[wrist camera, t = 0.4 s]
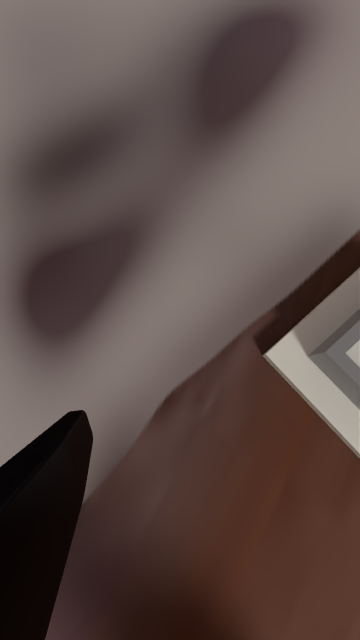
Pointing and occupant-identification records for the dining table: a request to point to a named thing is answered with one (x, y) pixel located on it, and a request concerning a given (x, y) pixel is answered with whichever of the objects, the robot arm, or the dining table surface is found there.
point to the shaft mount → (327, 360)
